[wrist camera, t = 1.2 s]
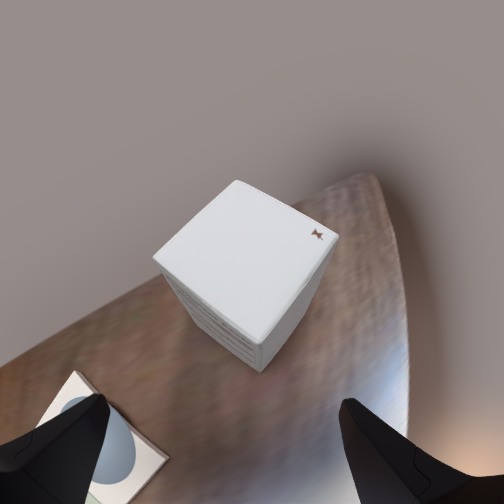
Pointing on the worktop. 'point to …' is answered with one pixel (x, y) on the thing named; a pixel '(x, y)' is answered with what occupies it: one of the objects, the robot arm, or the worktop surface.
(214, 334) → the supplement box
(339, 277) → the worktop surface
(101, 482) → the white board
